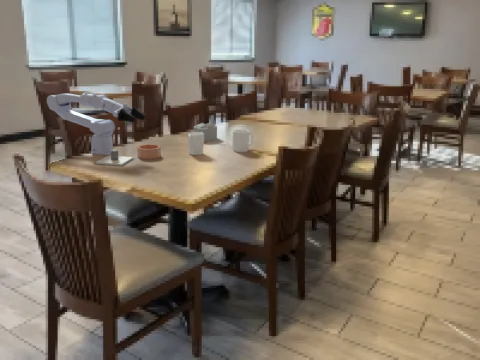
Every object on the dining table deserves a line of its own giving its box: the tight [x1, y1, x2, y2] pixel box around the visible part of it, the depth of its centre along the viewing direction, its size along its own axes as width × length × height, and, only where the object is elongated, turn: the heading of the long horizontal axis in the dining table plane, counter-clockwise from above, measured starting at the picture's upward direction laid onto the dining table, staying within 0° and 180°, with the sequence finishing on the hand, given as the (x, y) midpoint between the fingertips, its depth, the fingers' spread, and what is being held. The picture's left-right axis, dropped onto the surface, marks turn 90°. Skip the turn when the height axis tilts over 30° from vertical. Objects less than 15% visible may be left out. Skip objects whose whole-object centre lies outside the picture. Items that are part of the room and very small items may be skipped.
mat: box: [93, 157, 136, 168], centre depth 204 cm, size 14×14×1 cm
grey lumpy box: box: [193, 122, 218, 143], centre depth 253 cm, size 10×13×9 cm
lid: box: [95, 149, 134, 167], centre depth 203 cm, size 12×12×5 cm
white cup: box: [187, 131, 205, 156], centre depth 221 cm, size 8×8×10 cm
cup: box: [231, 128, 254, 153], centre depth 230 cm, size 8×12×10 cm
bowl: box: [136, 143, 162, 160], centre depth 213 cm, size 10×10×5 cm
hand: (139, 118), depth 206 cm, fingers open, 7 cm apart
